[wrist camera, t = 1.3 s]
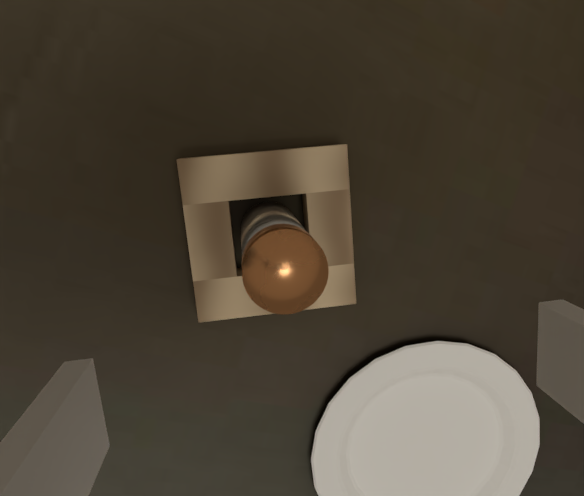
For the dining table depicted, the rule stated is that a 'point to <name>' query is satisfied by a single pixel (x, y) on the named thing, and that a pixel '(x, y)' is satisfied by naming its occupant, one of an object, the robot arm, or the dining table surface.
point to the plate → (428, 426)
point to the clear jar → (280, 260)
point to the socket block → (258, 184)
